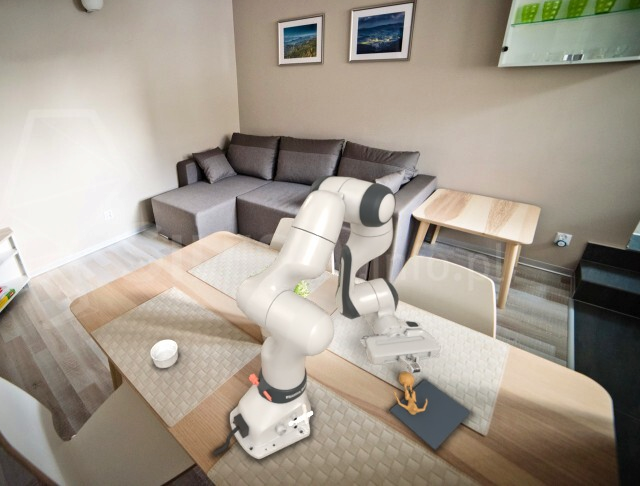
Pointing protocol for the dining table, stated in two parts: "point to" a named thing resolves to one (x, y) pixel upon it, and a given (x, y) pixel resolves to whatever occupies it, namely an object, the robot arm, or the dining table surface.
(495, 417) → the dining table surface
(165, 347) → the ramekin
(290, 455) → the dining table surface
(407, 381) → the figurine
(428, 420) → the felt mat
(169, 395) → the dining table surface
